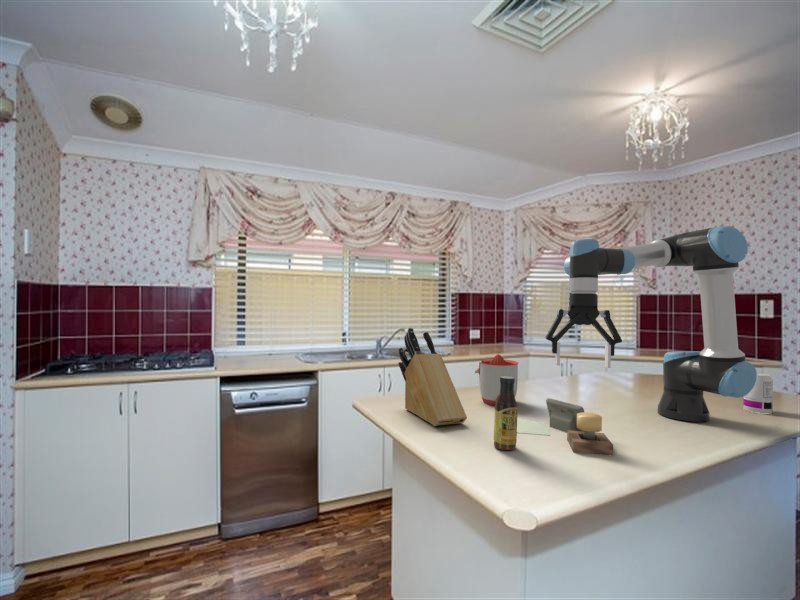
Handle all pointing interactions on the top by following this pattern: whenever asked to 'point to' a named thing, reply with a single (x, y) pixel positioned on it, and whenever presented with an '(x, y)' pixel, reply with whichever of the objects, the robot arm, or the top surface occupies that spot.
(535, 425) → the pad
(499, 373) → the citrus juicer
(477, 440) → the top surface
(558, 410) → the digital clock
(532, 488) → the top surface
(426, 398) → the knife block
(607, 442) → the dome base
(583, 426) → the yellow rounded cube
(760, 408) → the supplement can
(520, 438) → the top surface
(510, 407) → the sauce bottle
